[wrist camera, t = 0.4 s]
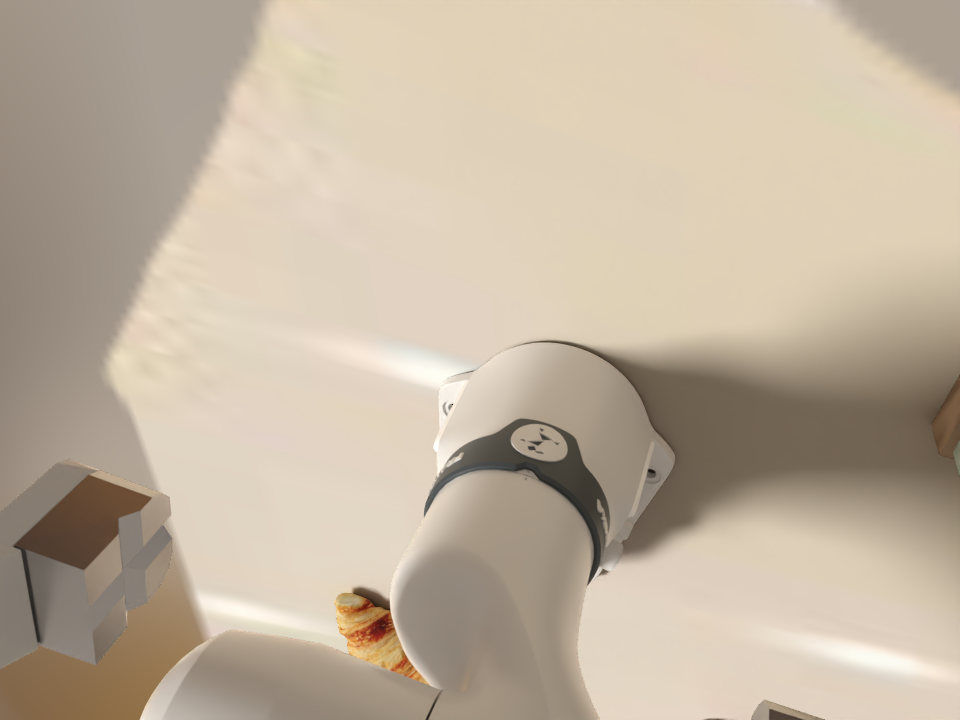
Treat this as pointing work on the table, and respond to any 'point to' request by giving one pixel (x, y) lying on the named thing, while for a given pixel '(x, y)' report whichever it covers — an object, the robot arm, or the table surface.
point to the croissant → (372, 635)
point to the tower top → (957, 456)
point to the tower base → (948, 423)
